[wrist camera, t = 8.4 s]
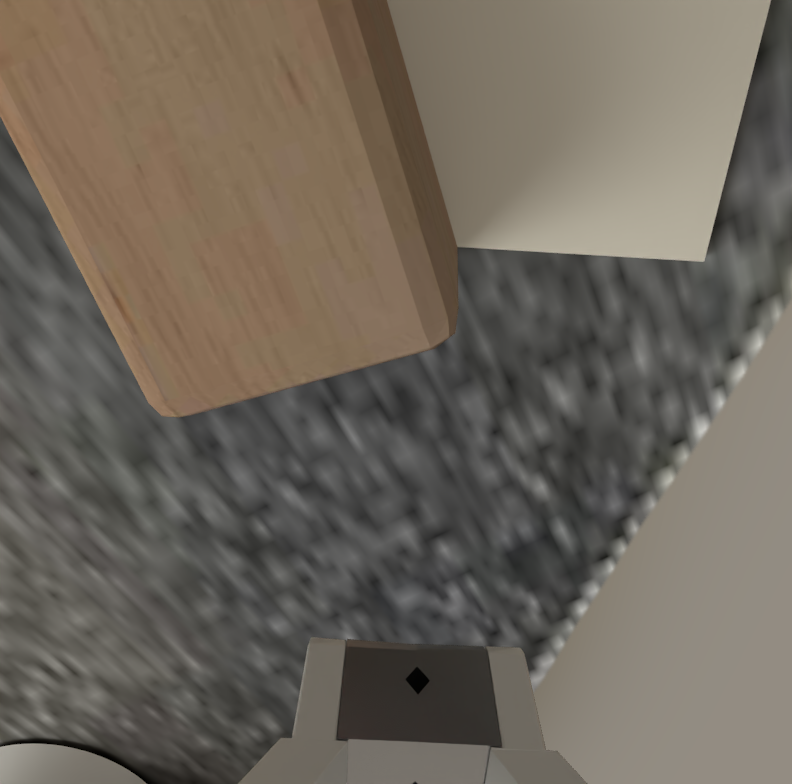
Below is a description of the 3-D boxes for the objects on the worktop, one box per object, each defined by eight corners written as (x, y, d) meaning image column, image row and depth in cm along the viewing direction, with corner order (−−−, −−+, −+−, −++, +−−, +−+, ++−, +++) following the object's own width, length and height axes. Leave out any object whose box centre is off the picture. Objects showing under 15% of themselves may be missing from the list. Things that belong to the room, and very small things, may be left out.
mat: (698, 258, 28) (704, 261, 27) (320, 235, 28) (318, 238, 27) (793, -121, 22) (803, -126, 22) (323, -151, 22) (321, -157, 22)
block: (468, 352, 18) (138, -757, 11) (150, 437, 20) (-317, -447, 13) (463, 264, 27) (283, -370, 20) (245, 329, 29) (5, -224, 22)
